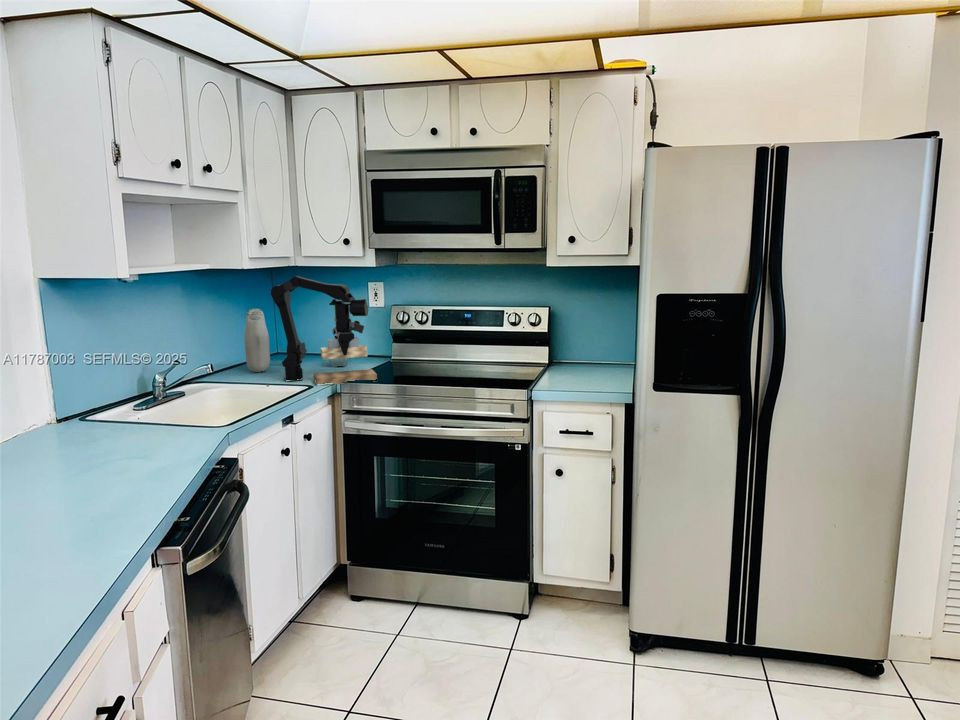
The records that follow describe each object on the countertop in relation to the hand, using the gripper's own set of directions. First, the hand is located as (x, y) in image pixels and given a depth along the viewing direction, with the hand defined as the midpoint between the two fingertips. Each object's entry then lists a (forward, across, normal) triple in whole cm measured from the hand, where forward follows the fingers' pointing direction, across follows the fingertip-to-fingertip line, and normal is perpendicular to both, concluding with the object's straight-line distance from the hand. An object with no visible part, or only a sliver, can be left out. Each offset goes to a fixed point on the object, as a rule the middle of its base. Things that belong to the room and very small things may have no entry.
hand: (344, 354), depth 283 cm
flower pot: (+11, +33, -2) cm, 35 cm away
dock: (+11, -1, 0) cm, 11 cm away
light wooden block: (+1, 0, 0) cm, 1 cm away
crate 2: (-3, 0, -4) cm, 5 cm away
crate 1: (-3, 0, +4) cm, 5 cm away
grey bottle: (+11, +33, +33) cm, 48 cm away
